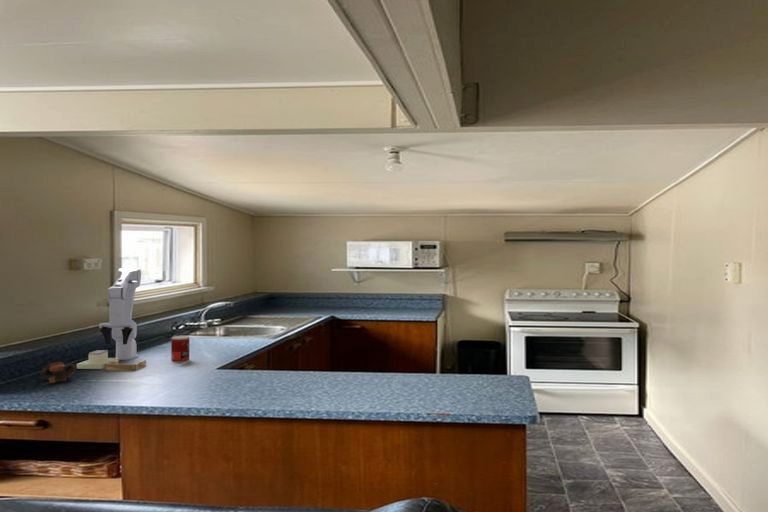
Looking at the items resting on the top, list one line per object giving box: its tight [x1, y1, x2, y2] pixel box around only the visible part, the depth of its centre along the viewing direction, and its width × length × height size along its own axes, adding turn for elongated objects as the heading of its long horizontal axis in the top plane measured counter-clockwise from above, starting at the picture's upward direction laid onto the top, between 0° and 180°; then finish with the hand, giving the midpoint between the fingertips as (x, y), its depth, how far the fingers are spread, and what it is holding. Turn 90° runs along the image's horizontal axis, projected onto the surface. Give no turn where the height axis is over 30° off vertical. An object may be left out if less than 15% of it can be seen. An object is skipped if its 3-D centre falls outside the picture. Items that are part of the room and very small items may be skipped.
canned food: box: [170, 335, 190, 362], centre depth 239 cm, size 8×8×11 cm
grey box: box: [88, 349, 109, 364], centre depth 226 cm, size 8×5×6 cm, turn 178°
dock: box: [104, 359, 147, 372], centre depth 221 cm, size 10×13×3 cm
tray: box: [76, 357, 120, 370], centre depth 225 cm, size 13×11×2 cm
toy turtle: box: [40, 361, 77, 384], centre depth 202 cm, size 12×10×8 cm
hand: (116, 344), depth 228 cm, fingers open, 7 cm apart
